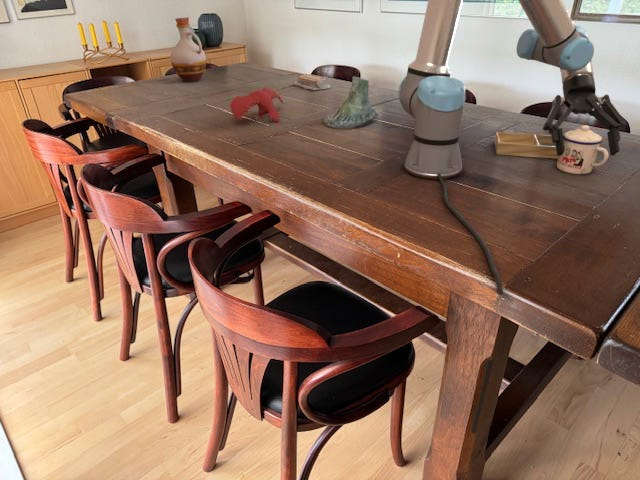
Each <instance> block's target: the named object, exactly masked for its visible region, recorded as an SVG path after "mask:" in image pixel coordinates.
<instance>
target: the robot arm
mask: <svg viewBox="0 0 640 480" xmlns="http://www.w3.org/2000/svg"><path fill="white" fill-rule="evenodd" d="M463 1H464V0H427V5H426V9H425V13H424V18H423V24H422V28H421V32H420V38H419V41H418V46H417V50H416V51H417V52H416V56H415V59H414V60H413V61H412V62H411V63H409V64H408V66H407V72H406V76H405V77H404V78H403V79H402V80H401V82H400V84H399V87H398V92H397V93H398V101H399V104H400V105H401V108H402V109H403V110H404V112H406V113H407V114H408V115H409V116H411V117H412V118H413V119H414V131H413V141H412V144H411V146H410V148H409V150H408V153H407V155H406V158H405V161H404V170H405V171H406V173H408V174H409V175H411V176H414V177H416V178H419V179H425V180H434V181H437V180H439V183H440V185H441V187H442V200H443V202H444V204H445V206H446V208H448V210H450V212H451V213H452V214H453V215H454V216H455V217H456V218H457V220H459V222H460V223H462V225H464V226H465V228H466V229H467V230H468V231H469V232H470V234H472V235H473V237H474V238H475V240H476V241H477V242H478V244H479V245H480V247H481V249H482V250H483V252H484V254H485V257H486V260H487V263H488V267H489V269H490V272H491V274H492V276H493V277H494V280H495V283H496V293H497V294H498V295H500V296H502V295H504V288H503V281H502V277H501V274H500V273H499V271H498V270H497V268H496V265H495V262H494V259H493V256H492V253H491V251H490V250H489V248H488V246H487V244H486V242H485V241H484V239H483V238H482V237H481V235H480V234H479V233H478V231H476V229H475V228H474V227H473V226H472V225H471V224H470V223H469V222H468V220H466V218H464V217H463V216H462V215H461V213H459V212H458V210H457V209H455V207H454V206H453V205H451V202H450V201H449V200H448V190H447V189H448V188H447V185H446V183H445V180H449V179H453V178H457V177H458V176H460V175H461V174H462V171H463V161H462V155H461V151H460V150H461V149H460V145H459V144H460V142H459V141H460V135H461V128H462V122H463V116H464V115H463V114H464V110H465V109H464V108H465V103H466V86H465V84H464V83H463V82H462V81H461V80H460V79H458V78H455V77H451V73H452V72H451V70H450V68H449V65H448V61H449V58H450V54H451V50H452V45H453V41H454V37H455V34H456V30H457V26H458V22H459V19H460V13H461V11H462V7H463ZM517 1H518V2H519V4H520V6H521V8H522V10H523V12H524V13H525V15H526V17H527V18H528V20H529V22H530V24H531V26H532V28H527V29H526V30H524V31H523V32H522V33H521V34H520V35H519V38H518V40H517V43H516V55H517V57H519V58H520V59H524V60H527V61H535V62H539V63H542V64H546V65H549V66H553V67H555V68H559V71H560V77H561V84H562V94H563V96H561V95H560V94H557V95H556V96H555V97H554V98H553V99H552V101H551V109H550V111H549V113H548V115H547V118H546V119H545V122H544V124H543V127H542V130H543V131H548V134H549V135H551V136H552V142H553V143H556V151H557V156H560V155H561V154H562V153H563V152H564V151H565V148H564V140H563V135H564V133H563V128H562V127H560V126H561V125H562V124H563V122H565V120H566V119H567V118H568V117H569V116H570V114H571V113H573V115H579V114H581V115H587V114H588V115H589V116H590V117H593V118H594V119H595V120H597V122H599V123H600V124H601V125H602V126H603V127H604V128H606V129H607V130H608V131H607V132H606V135H607V140H608V142H607V143H608V148H609V156H615V155H616V154H618V153H619V152H620V145H619V142H620V141H621V134H620V131H621V130H622V129H624V128H625V126H627V122H626V120H625V119H624V118H623V117H622V115H621V114H620V112H619V111H618V109H617V108H616V107H615V106H614V104H613V103H612V101H611V98H610V96H609V94H605V95H603V96H597V94H596V91H597V89H596V83H595V78H594V69H593V62H592V60H593V57H594V54H595V46H594V43H593V42H592V41H591V40H590V39H589V36H588V33H587V30H586V28H585V27H584V26H582V25H575V23H574V22H573V19H572V18H571V16H570V13H569V11H568V9H567V8H566V5H565V4H564V1H563V0H517ZM562 105H564V106H565V107H566V108H567V109H566V110H565V111H564V112H563V113H562V115H560V117H559V118H558V120H557V121H556V122H555V123H554V124H553V122H554V120H555V118H556V116H557V113H558V111H559V109H560V107H561V106H562ZM559 127H560V128H559ZM494 362H495V360H493V359H488V360H487V364H486V369H485V373H484V377H483V381H482V386H481V390H480V394H479V398H478V402H477V406H476V410H475V414H474V419H473V423H472V427H471V433H472V434H474V435H475V434H477V432H478V426H479V422H480V418H481V414H482V409H483V406H484V403H485V398H486V395H487V391H488V387H489V384H490V379H491V376H492V371H493V366H494Z"/></svg>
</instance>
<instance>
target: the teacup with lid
mask: <svg viewBox="0 0 640 480" xmlns="http://www.w3.org/2000/svg"><path fill="white" fill-rule="evenodd" d="M590 128H591V127H590V126H589V125H586V124H585V125H581V126H580V128H577V129H574V130H569V131H565V133H563V140H564V148H565V151H564V152H563V153H562V154H561V155H560V156H559V158H558V159H557V161H556V167H557V169H558V170H560V171H562V172H565V173H568V174H573V175H587V174H590V173H591V172H592V171H593V168H594V167H601V166H602V165H604V164H605V163H606V162H607V161H608V159H609V152H608V150H607V149H606V148H605V147H601V143H602V142H603V137H602V136H601V135H600V134H598V133H595V132H594V131H592V130H590ZM598 152H601V153H602V154H603V159H602V160H601V161H600V162H596V158H597V156H598Z"/></svg>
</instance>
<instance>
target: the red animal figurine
mask: <svg viewBox="0 0 640 480" xmlns="http://www.w3.org/2000/svg"><path fill="white" fill-rule="evenodd" d="M274 99H278V100H279V101H280V103H281V104H284V102H283V100H282V98H281V96H280V95H279V93H278V92H276V91H275V90H273V89H271V88H266V87H263V88H261V90H259V89H257V90H255V91H252V92H249V94H248V95H245V96H240V95H239V96H238V95H237V96H235V97H234V98H233V99H232V100H231V103H230V105H229V107H230V109H231V114H232V116H233V117H234V118H235V120H236V121H239V120H243V117H245V116H246V114H245V113H247V114H248V113H249V110H251V108H253V107H254V106H257V107H258V112H257V116H254V119H255V120H258V118H259V117H260V118H261V119H262V118H263V116H265V115H266V114H267V117H269V119H271V120H272V121H273V123H278V122H279V121H280V115H281V114H280V111H278V110H276V109H275V106H274V102H273V100H274Z"/></svg>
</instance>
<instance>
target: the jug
mask: <svg viewBox="0 0 640 480" xmlns="http://www.w3.org/2000/svg"><path fill="white" fill-rule="evenodd" d="M174 19H175V22H176V24H175V25H176V28H177V29H178V33H179V40H178V42H177V43H176V45H175V46H174V47H173V48H172V50H171V52H170V54H169V57H170V58H169V60H170V64H171V66H172V69H173V70H174V72H175V74H176V75H177V76H178V77H179V78H180V79H181V80H182V81H183V82H185V83H195V82H199V81H200V80H201V78H202V77H203V75H204V73H205V71H206V66H207V55H206V53H205V51H204V50H203V45H202V43H201V40H200V38H199V36H198V35H197V34H196V33H195V32H192V31H190V26H191V24H190V17H179V18H178V17H177V18H174ZM190 36H192V37H193V38H195V40H196V42H197V43H195V42H194V41H193V40H192V38H191V37H190Z"/></svg>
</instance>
